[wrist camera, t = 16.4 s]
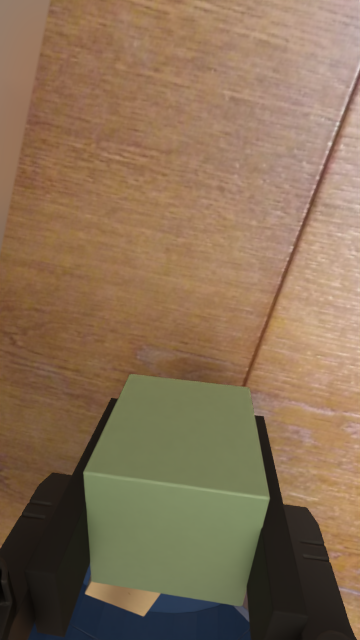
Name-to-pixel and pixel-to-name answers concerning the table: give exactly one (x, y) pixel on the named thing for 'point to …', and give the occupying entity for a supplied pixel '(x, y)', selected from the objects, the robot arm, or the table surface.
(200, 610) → the navy round tub
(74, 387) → the table surface
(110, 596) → the beech block
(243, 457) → the sage block
